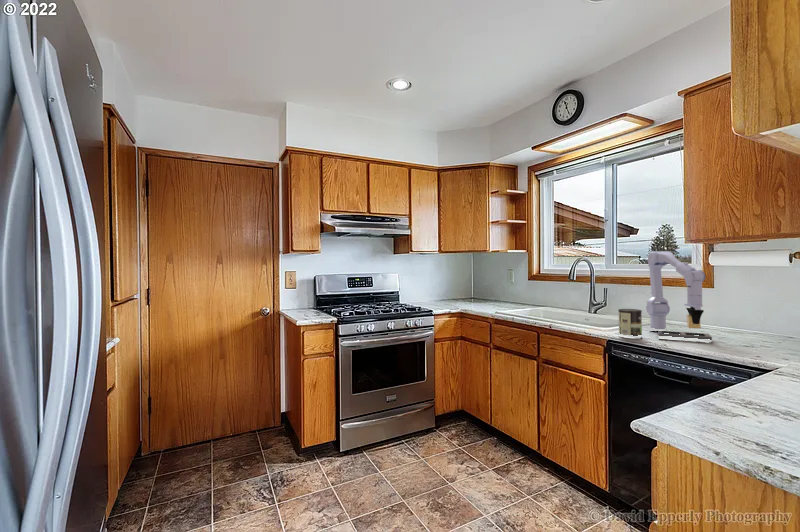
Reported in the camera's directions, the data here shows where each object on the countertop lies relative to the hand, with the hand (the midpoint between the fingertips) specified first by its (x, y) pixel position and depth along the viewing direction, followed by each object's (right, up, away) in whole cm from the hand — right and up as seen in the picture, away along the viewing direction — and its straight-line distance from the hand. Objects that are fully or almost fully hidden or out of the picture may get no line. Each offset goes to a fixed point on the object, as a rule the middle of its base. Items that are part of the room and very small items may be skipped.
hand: (695, 323), depth 186 cm
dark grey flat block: (-4, -8, +2) cm, 9 cm away
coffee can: (-25, -9, +10) cm, 29 cm away
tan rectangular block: (0, -2, 0) cm, 2 cm away
